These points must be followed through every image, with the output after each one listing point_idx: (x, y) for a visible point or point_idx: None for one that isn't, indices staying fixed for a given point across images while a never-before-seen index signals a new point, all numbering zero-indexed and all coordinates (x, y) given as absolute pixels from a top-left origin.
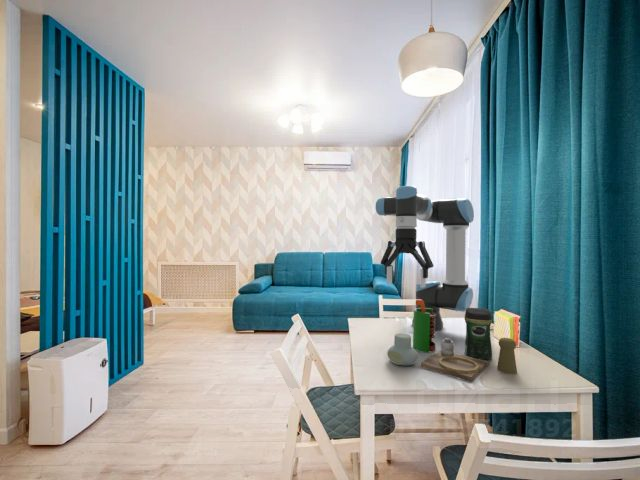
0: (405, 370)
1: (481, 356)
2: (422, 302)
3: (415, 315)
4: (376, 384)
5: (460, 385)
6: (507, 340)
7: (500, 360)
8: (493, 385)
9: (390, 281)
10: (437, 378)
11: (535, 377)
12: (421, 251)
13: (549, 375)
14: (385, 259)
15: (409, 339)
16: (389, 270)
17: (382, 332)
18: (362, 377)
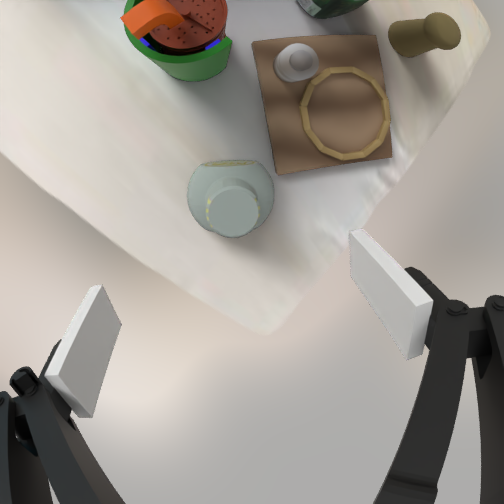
0: (266, 220)
1: (349, 11)
2: (166, 14)
3: (162, 63)
4: (273, 310)
5: (379, 187)
6: (454, 40)
7: (412, 48)
8: (417, 136)
9: (107, 310)
10: (336, 195)
11: None
12: (489, 485)
13: (451, 16)
14: (37, 456)
15: (260, 209)
16: (91, 381)
17: (25, 66)
18: (236, 313)
